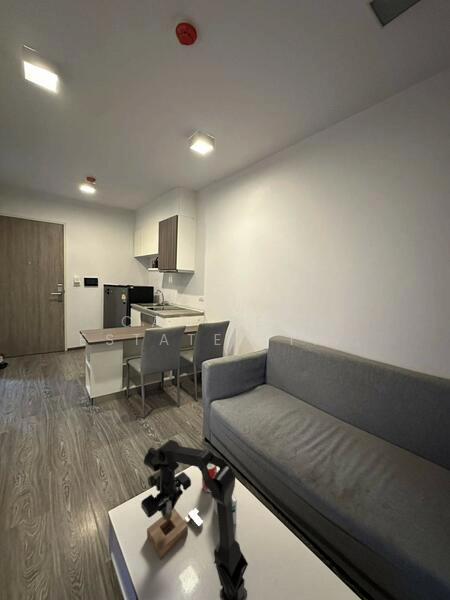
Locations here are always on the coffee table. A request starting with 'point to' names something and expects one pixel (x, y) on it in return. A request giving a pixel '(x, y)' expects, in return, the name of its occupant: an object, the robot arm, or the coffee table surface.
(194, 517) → the grey t-shaped block
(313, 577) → the coffee table surface
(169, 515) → the cylinder
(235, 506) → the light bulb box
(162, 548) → the bore block
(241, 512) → the coffee table surface
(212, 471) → the soda can
